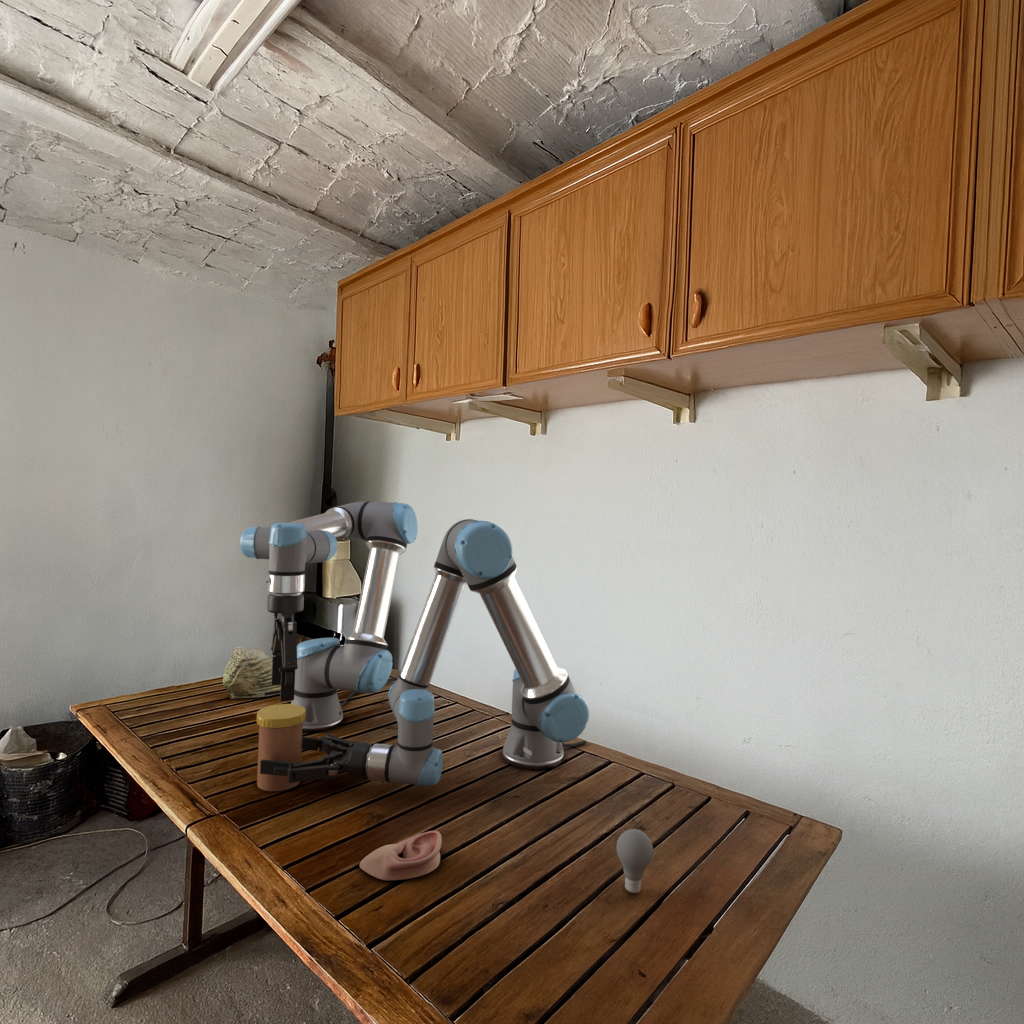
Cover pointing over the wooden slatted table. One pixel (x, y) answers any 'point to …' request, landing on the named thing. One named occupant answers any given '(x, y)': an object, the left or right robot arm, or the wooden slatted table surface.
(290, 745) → the jar
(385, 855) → the anatomical model
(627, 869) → the light bulb
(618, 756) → the wooden slatted table surface
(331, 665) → the left robot arm
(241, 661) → the fossil
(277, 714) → the lid
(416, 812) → the wooden slatted table surface
